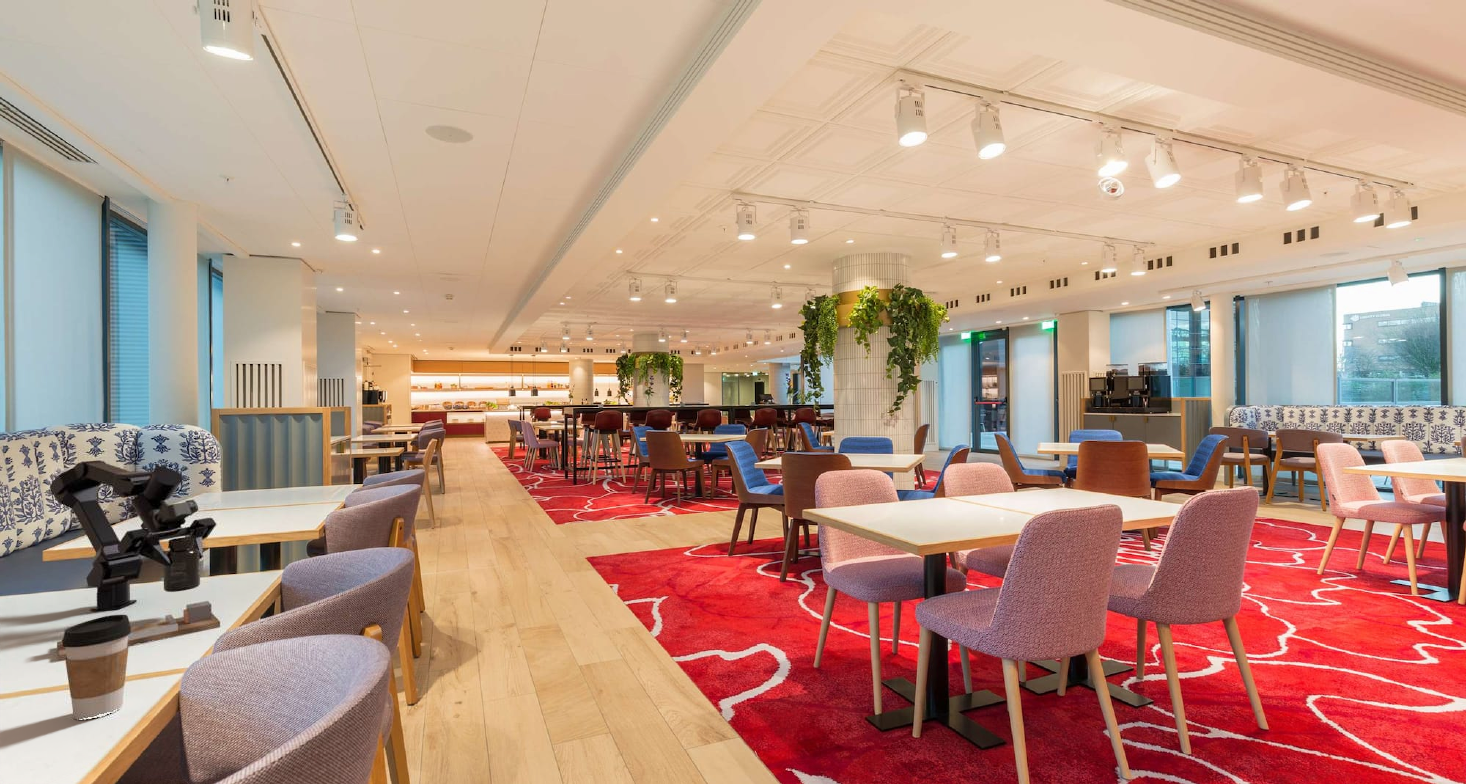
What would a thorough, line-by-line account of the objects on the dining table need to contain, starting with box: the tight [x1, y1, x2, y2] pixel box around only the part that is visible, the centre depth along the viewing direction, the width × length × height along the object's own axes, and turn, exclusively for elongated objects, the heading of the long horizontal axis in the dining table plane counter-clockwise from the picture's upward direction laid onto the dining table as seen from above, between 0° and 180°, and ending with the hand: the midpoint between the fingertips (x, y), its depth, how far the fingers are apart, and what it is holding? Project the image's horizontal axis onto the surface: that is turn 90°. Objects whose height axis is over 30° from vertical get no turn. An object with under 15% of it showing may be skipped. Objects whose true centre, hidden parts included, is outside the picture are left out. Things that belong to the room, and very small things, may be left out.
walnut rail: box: [56, 600, 221, 662], centre depth 148 cm, size 26×11×5 cm, turn 137°
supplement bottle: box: [162, 536, 201, 593], centre depth 162 cm, size 7×7×12 cm
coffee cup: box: [61, 614, 131, 720], centre depth 112 cm, size 8×8×15 cm
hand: (185, 561), depth 161 cm, fingers closed on supplement bottle, 7 cm apart
